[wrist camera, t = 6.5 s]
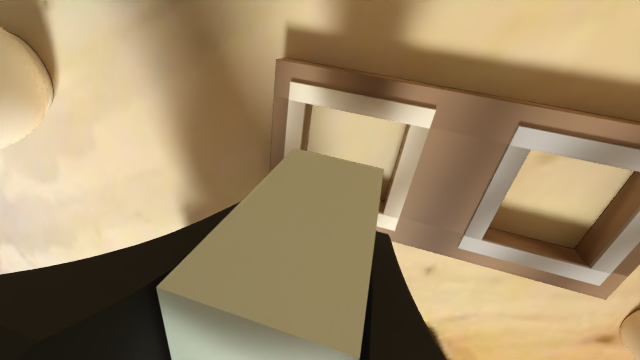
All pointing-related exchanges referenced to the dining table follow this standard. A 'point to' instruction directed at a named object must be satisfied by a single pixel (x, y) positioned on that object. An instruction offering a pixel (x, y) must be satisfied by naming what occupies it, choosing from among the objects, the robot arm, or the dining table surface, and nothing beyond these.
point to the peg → (281, 269)
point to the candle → (631, 334)
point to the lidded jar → (21, 89)
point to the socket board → (474, 169)
